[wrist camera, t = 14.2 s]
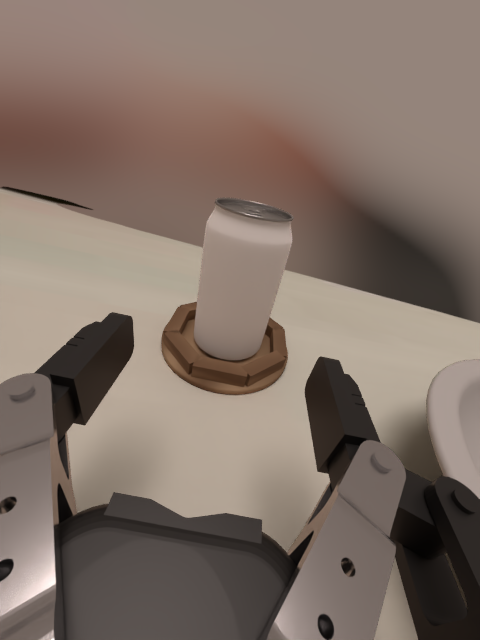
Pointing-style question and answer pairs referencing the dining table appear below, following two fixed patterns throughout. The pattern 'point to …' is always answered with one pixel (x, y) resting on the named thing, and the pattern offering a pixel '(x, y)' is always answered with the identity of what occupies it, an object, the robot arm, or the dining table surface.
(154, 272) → the dining table surface
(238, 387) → the octagonal wooden coaster
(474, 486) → the soup bowl
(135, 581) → the robot arm
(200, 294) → the can
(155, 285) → the dining table surface
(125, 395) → the dining table surface
